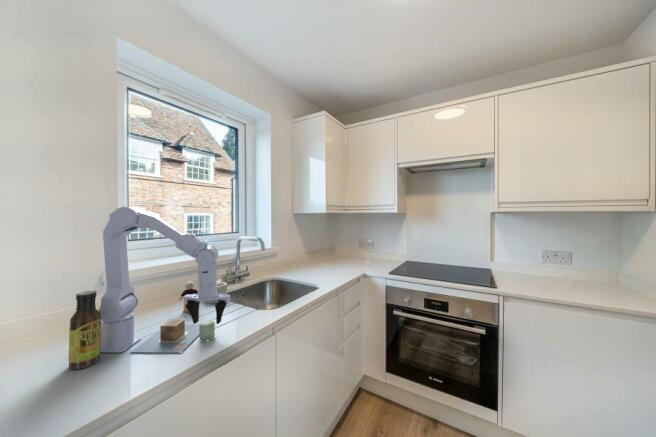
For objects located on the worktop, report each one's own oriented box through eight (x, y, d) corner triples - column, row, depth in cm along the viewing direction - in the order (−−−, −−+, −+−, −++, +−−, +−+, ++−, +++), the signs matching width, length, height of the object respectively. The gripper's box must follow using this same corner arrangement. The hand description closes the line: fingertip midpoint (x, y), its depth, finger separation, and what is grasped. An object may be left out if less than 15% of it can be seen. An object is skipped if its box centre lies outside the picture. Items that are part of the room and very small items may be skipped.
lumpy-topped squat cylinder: (210, 304, 112) (210, 285, 112) (194, 298, 119) (194, 281, 119) (230, 298, 121) (230, 280, 120) (214, 292, 128) (214, 276, 127)
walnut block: (160, 341, 79) (160, 326, 79) (170, 333, 84) (170, 319, 84) (176, 341, 79) (176, 326, 79) (184, 333, 84) (184, 319, 84)
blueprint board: (130, 353, 73) (130, 351, 73) (168, 325, 91) (168, 323, 91) (181, 353, 74) (181, 351, 74) (208, 325, 92) (208, 324, 92)
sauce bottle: (81, 372, 64) (80, 297, 64) (62, 369, 65) (61, 295, 65) (107, 358, 71) (106, 289, 70) (88, 355, 72) (88, 288, 71)
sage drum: (196, 341, 80) (196, 326, 80) (203, 334, 85) (203, 320, 85) (210, 341, 80) (210, 327, 80) (216, 334, 85) (216, 320, 85)
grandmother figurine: (182, 314, 101) (182, 283, 101) (178, 311, 103) (178, 282, 103) (201, 308, 107) (201, 279, 107) (196, 306, 109) (197, 278, 109)
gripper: (178, 286, 78) (178, 328, 78) (224, 286, 78) (224, 328, 79) (190, 280, 85) (190, 318, 85) (232, 280, 85) (232, 318, 86)
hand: (207, 322), depth 83 cm, fingers open, 7 cm apart
